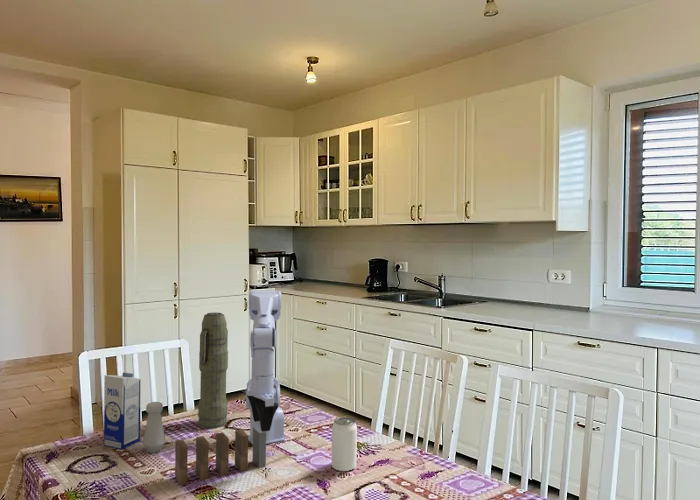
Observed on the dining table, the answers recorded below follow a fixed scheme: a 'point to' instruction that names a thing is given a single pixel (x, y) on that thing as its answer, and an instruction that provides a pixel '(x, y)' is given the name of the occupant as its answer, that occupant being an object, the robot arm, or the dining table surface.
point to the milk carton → (121, 410)
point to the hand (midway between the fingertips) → (261, 425)
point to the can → (344, 444)
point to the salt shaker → (154, 428)
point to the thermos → (213, 371)
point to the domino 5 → (259, 447)
